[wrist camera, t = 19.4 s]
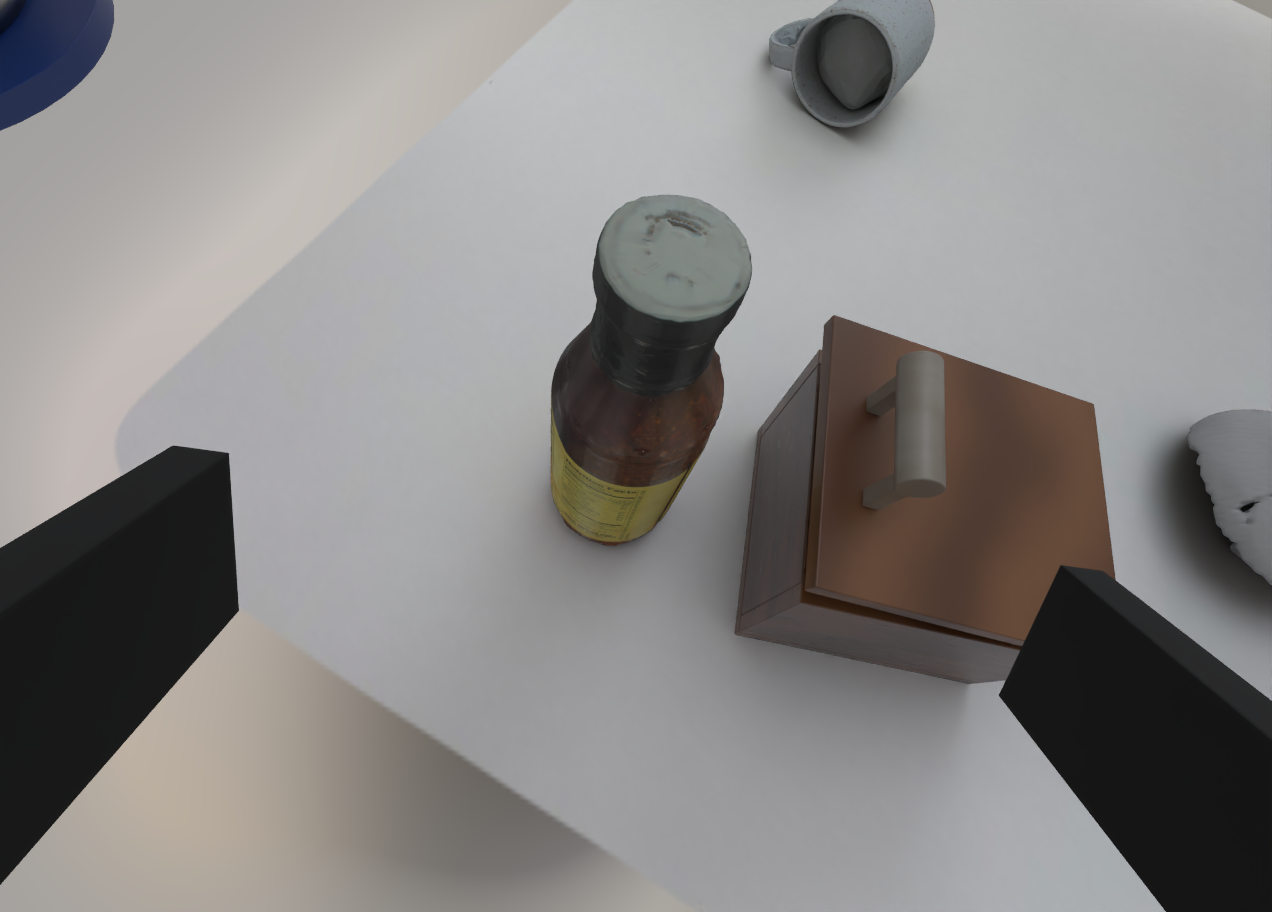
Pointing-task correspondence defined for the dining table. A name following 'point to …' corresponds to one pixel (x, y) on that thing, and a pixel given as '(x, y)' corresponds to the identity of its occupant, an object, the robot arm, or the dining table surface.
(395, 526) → the dining table surface
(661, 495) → the sauce bottle
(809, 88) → the ceramic mug
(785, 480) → the box
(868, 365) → the breadbox lid
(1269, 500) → the grey clay mound
